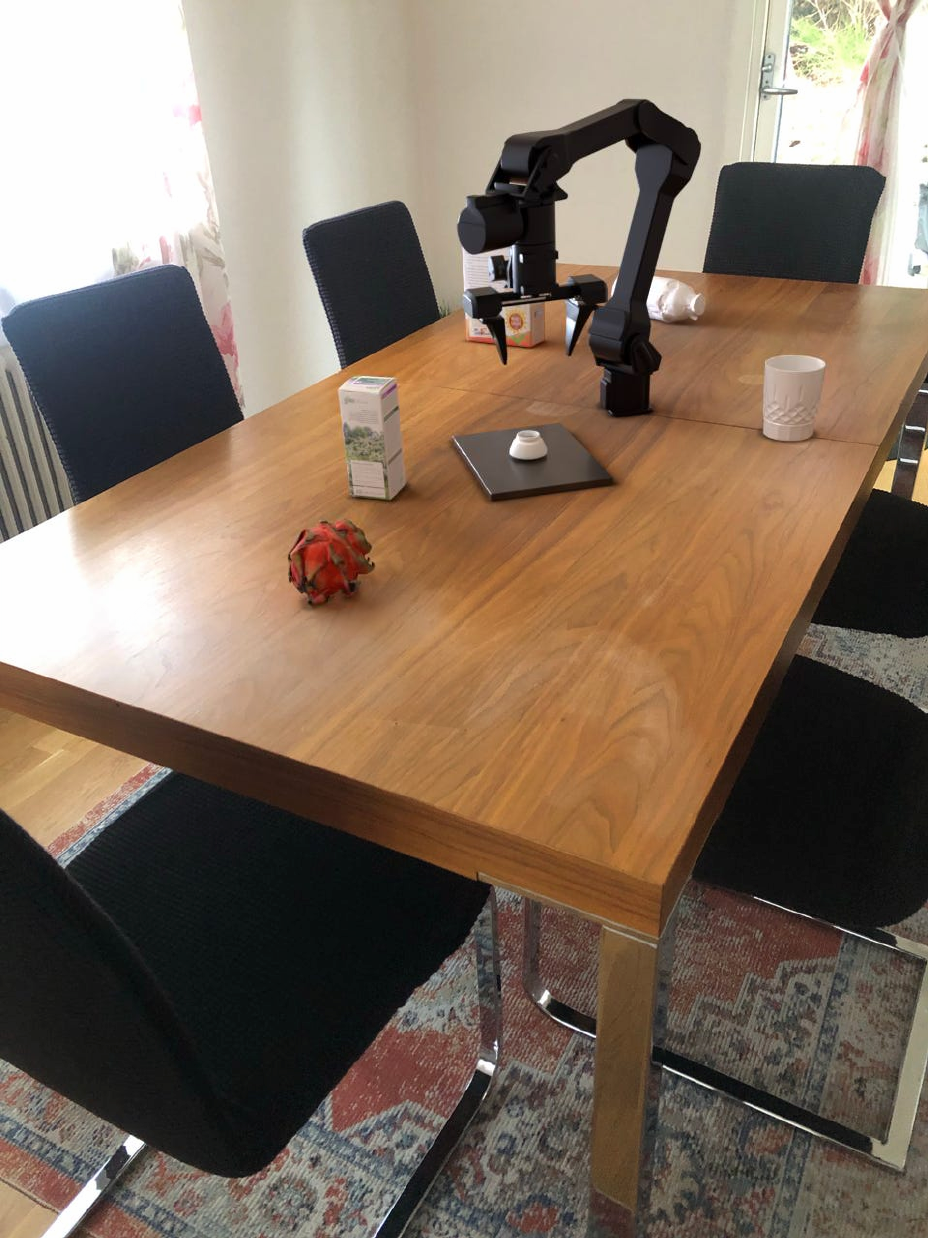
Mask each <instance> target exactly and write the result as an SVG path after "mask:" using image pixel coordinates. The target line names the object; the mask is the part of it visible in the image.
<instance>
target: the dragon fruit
mask: <svg viewBox="0 0 928 1238" xmlns="http://www.w3.org/2000/svg"><path fill="white" fill-rule="evenodd" d="M372 549H373V546H372V544H371V543H370V542H369V541H368V540H367V538H366V534H365V531H364V530H362V528H360V527H358V526H356V525H355V524H354V523H353V522H352V521H351V520H349V519H346V518H344V519H343V518H342V519H339V520H337V521H336V523H335V524H333V523H330V522H328V520H327V519H324V520H323V519H319V520H318V526H317V528H315V529H306V528H305V529H303V530H301V531H300V532H299V534H298V535H297V537H296V540H295V541H294V544H293V546H292V547H291V548H290V551H289V552H288V555H287V561H288V573H287V575H288V582H289V584H291V583H292V585H293V586H294V587H295V589H296V590H297V591H298V592H299V593H300V594H301V595H303V594H306V595H307V597H306V599H307V602H306V604H307V605H309V606H310V607H311V606H312V605H313V604H314V605H317V604H322V603H324V604H326V603H329V602H331V601H332V600H333V599H334V597H335V596H334V594H336V593H338V592H339V591H341V592H342V594H344V595H345V596H347V597H351V596H353V595H354V594H355V593H356V592H357V591H358V590H359V589H360V586H361V585H362V581H361V580H358V576H359V575H368V574H370V573H372V572H374V570H375V569H376V563H375V562H374V561H371V559H370V557H369V556H368V557H367V558H366V555H368V554H370V553H371V552H372ZM370 562H371V563H370ZM331 595H333V596H332V597H331Z"/></svg>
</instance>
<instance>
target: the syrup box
mask: <svg viewBox="0 0 928 1238" xmlns="http://www.w3.org/2000/svg"><path fill="white" fill-rule="evenodd" d="M398 387H399V385H398V379H397V378H396V377H387V376H386V377H384V376H367V375H355V376H353V377H351V378H349V379H348V380H347V381H345V382H344V383H343V384H342V385H341V386H340V387H339V388H337V391H338V392H337V393H338V401H339V408H340V416H341V425H342V433H343V443H344V451H345V459H346V468H347V476H348V477H347V478H348V484H349V485H348V486H349V493H350V494H349V495H350V497H351V498H361V499H362V498H363V499H372V500H382V501H391V500H392V499H393V498H395V496H397V495H398V494H399V493H400V491H402V490H403V488H405V486H406V484H407V478H406V471H405V461H404V452H403V439H402V438H403V437H402V427H401V413H400V400H399V399H400V398H399V388H398Z"/></svg>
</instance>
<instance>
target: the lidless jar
mask: <svg viewBox="0 0 928 1238" xmlns="http://www.w3.org/2000/svg"><path fill="white" fill-rule="evenodd" d="M510 454H511V456H513V457H515V458H518V459H522V460H533V459H538V458H541V457H543V456H545V455H546V454H547V447H546V445H545V443H544V441H543V439H542V438H541V437H540V434H539V433H538V432H536V431H522V432H519V433H518V434H517V438H516V439H514V442H513V444H512V446H511V448H510Z"/></svg>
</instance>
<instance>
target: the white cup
mask: <svg viewBox="0 0 928 1238" xmlns="http://www.w3.org/2000/svg"><path fill="white" fill-rule="evenodd" d="M826 366H827V363H826V362H825V361H824V360H823V359H820V358H818V357H815V356H810V355H803V354H783V355H776V356H772V357H769V358H767V359H766V360H765V361H764V371H763V372H764V373H763V374H764V375H763V389H762V390H763V391H762V395H763V397H762V416H763V417H762V434H763V435H764V436H765V437H767V439H770V440H775V441H779V442H787V443H788V442H802V441H805V440H808V439H810V438H811V437H813V434H814V428H815V422H816V418H817V415H818V410H819V405H820V402H821V395H822V389H823V383H824V379H825V373H826Z"/></svg>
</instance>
